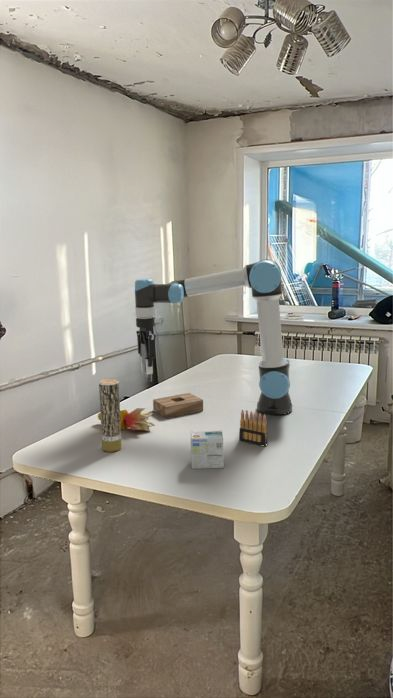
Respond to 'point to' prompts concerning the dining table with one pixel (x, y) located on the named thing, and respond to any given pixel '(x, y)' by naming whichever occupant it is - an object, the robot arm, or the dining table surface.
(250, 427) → the ammunition clip
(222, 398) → the dining table surface
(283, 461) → the dining table surface
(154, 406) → the bore block
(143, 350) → the pin
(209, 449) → the light bulb box
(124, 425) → the torch
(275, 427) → the dining table surface
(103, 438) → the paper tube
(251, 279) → the robot arm
